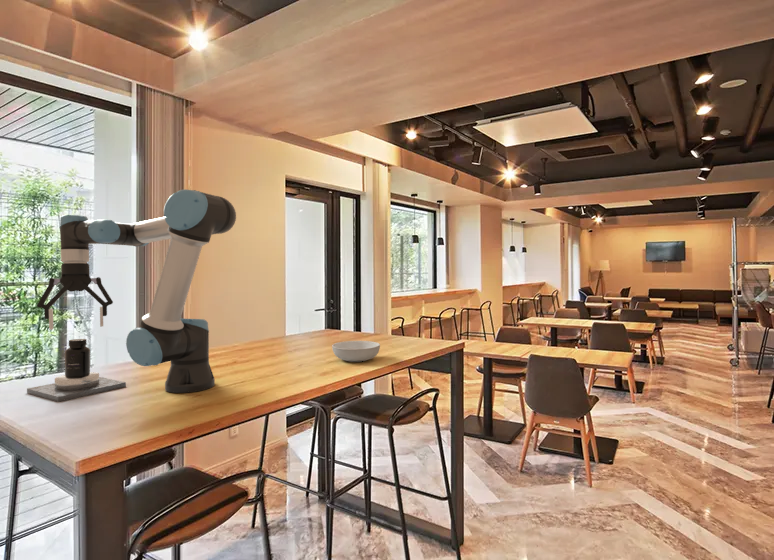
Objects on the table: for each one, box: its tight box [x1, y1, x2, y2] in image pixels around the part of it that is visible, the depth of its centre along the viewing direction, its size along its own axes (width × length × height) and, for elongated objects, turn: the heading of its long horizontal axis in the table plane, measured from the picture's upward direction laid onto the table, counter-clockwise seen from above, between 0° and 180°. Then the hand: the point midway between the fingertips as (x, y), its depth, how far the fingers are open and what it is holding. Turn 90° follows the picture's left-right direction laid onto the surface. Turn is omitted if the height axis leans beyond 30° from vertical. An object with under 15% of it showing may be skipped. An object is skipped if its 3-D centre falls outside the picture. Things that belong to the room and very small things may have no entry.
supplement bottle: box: [64, 338, 91, 378], centre depth 146 cm, size 7×7×12 cm
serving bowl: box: [331, 340, 381, 363], centre depth 193 cm, size 21×21×7 cm
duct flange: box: [26, 371, 127, 403], centre depth 146 cm, size 20×20×4 cm
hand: (77, 327), depth 146 cm, fingers open, 13 cm apart
